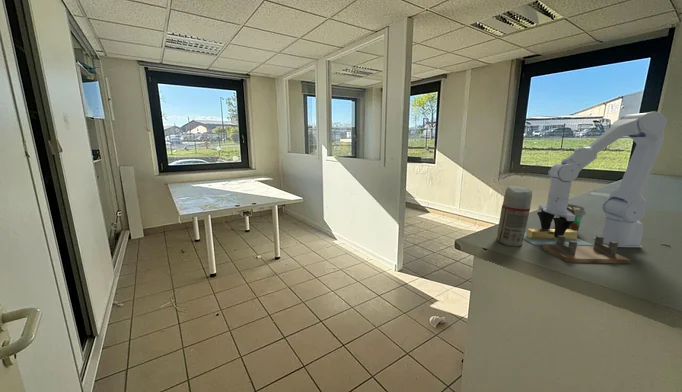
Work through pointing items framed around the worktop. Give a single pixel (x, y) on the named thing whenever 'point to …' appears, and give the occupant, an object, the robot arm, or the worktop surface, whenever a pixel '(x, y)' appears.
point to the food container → (578, 213)
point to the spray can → (514, 215)
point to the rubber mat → (554, 241)
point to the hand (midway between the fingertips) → (551, 234)
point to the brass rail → (550, 234)
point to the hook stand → (586, 251)
